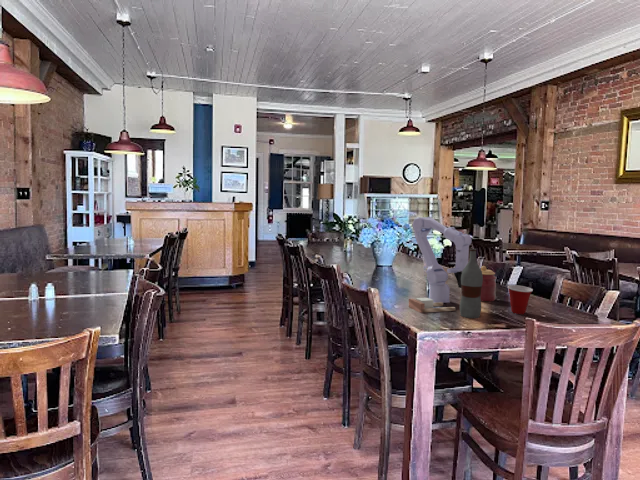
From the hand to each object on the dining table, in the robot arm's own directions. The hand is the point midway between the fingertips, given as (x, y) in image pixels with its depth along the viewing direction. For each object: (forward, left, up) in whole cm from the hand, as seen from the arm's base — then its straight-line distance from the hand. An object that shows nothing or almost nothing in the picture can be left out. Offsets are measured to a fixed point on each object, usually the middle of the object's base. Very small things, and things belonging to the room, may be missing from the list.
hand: (460, 287), depth 227 cm
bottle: (+6, +17, -10) cm, 20 cm away
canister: (-22, -13, -10) cm, 27 cm away
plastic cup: (-20, +17, -10) cm, 28 cm away
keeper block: (+20, +1, -10) cm, 22 cm away
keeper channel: (+16, +1, -9) cm, 19 cm away
